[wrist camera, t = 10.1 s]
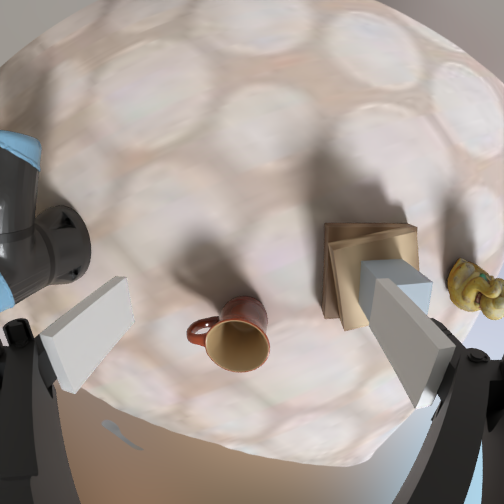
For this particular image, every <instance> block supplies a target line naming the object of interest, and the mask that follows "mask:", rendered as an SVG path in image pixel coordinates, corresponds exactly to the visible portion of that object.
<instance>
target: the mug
mask: <svg viewBox="0 0 504 504" xmlns="http://www.w3.org/2000/svg"><path fill="white" fill-rule="evenodd" d="M267 324H268V318H267V313H266V310H265V308H264V306H263V305H262V304H261V303H260V302H259V301H258V300H256V299H255V298H252V297H249V296H239V297H236V298H233V299H232V300H230V301H229V302H228V303H227V304H226V305H225V306H224V308H223V309H222V311H221V314H220V315H219V316H214V317H210V318H205V319H201V320H198V321H196V322H194V323H192V324H191V325H190V326H189V328H188V329H187V339H188V341H189V342H191V343H193V344H197V345H201V346H204V347H205V348H206V352H207V354H208V356H209V357H210V358H211V360H212V361H213V362H214V363H216V364H217V365H218V366H220V367H221V368H223V369H226V370H228V371H232V372H249V371H252V370H255V369H257V368H259V367H260V366H261V365H262V364H263V363H264V362H265V361H266V360H267V358H268V356H269V352H270V344H269V340H268V338H267V336H266V330H267ZM207 327H210V329H209V331H208V332H207V333H204V334H195V333H196V332H197V331H198V330H200V329H202V328H207Z"/></svg>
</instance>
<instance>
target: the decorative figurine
mask: <svg viewBox="0 0 504 504" xmlns="http://www.w3.org/2000/svg"><path fill="white" fill-rule="evenodd" d="M447 281H448V284H447V286H448V291H449V294H450V299H451V301H452V302H453V303H454V304H455V305H456V306H457V307H458V308H460V309H463V310H465V311H468V312H474V311H478V310H481V311H482V312H483V314H484V315H485V316H486V317H487V318H489V319H491V320H499V319H501V318H502V317H504V280H503V279H500V278H496V279H494V277H493V276H489V274H488V273H487V272H486V271H484V270H483V269H481V268H480V267H479V266H477V265H476V264H474V263H471V262H467V261H466V260H464V259H462V258H459V259H458V260H457V262H456V263H455V265H454V266H453V268H452V270H451V271H450V274H449V277H448V279H447Z"/></svg>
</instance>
